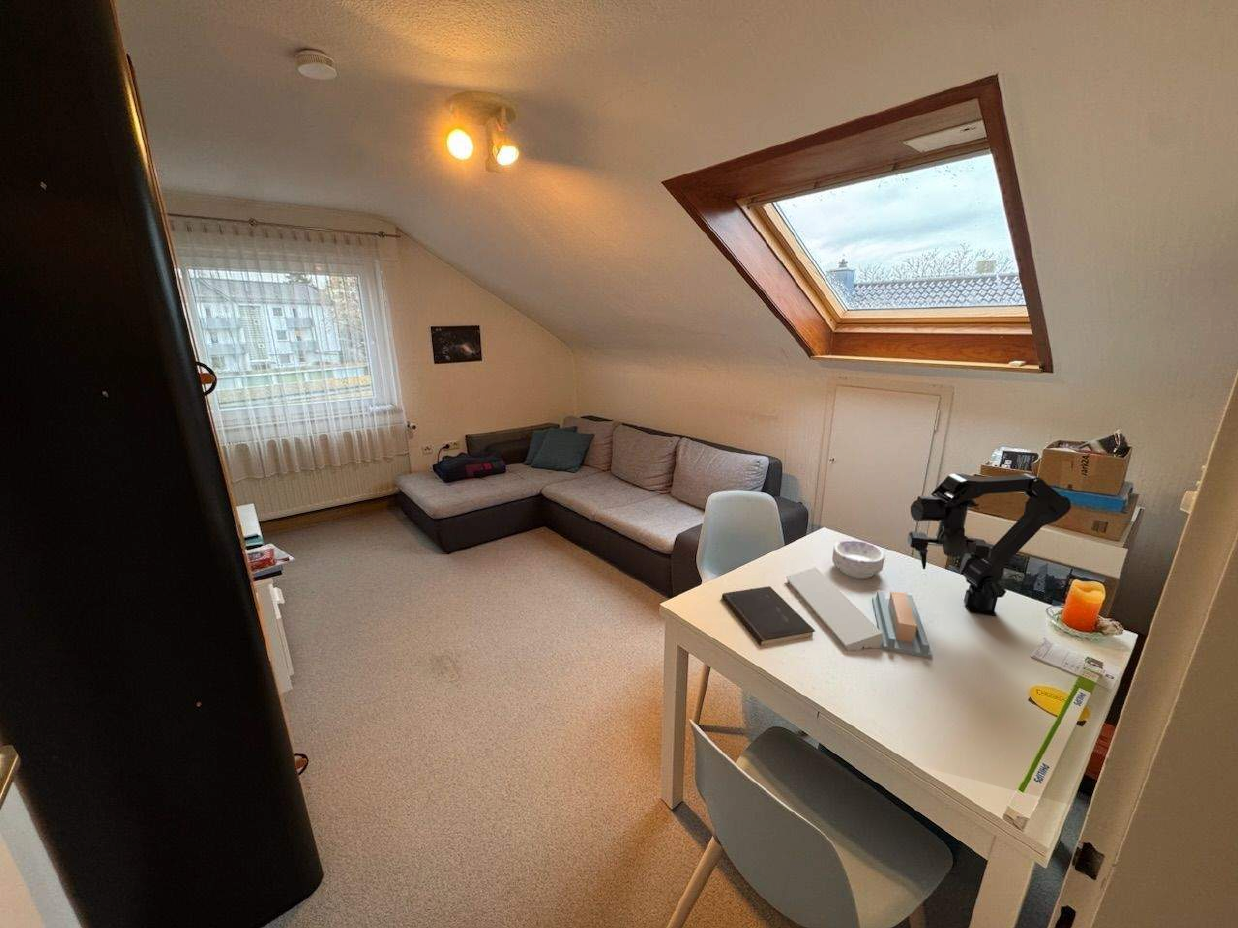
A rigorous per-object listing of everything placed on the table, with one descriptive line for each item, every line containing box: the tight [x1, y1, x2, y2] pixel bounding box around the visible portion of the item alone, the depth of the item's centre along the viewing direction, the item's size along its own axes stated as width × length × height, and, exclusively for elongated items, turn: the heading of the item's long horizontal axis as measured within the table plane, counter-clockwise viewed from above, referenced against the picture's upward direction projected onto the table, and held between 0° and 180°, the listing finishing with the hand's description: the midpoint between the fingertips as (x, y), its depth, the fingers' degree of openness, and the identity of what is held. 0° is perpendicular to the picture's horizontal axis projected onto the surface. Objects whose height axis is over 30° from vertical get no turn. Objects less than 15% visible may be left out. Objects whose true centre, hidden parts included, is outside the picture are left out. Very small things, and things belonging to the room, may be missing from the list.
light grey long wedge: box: [785, 567, 884, 652], centre depth 144 cm, size 34×5×10 cm
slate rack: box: [871, 589, 933, 659], centre depth 136 cm, size 11×24×4 cm, turn 160°
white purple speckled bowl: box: [831, 539, 886, 579], centre depth 164 cm, size 15×15×8 cm
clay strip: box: [888, 590, 917, 643], centre depth 135 cm, size 4×16×5 cm, turn 159°
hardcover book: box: [721, 585, 816, 647], centre depth 142 cm, size 16×23×2 cm
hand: (942, 571), depth 141 cm, fingers open, 9 cm apart
